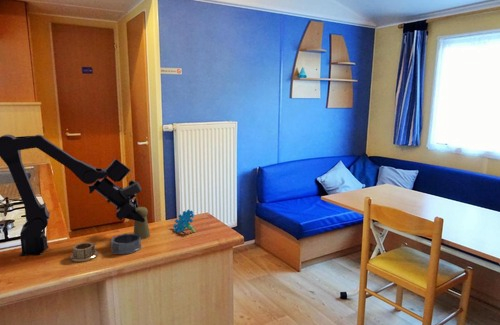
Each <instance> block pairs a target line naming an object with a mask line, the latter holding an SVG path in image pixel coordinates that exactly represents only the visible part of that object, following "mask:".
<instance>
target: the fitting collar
mask: <svg viewBox="0 0 500 325" xmlns="http://www.w3.org/2000/svg"><path fill="white" fill-rule="evenodd" d="M110 248H111V249H110V251H111V253H112V254H114V255H118V256H119V255H120V256H121V255H124V256H125V255H130V254H134V253H137V252H138V251H140V250H141V249H142V239H141V237H140V236H139V235H138V234H134V232H133V233H132V232H131V233H123V234H118V235H116V236H113V237H112V238H111V239H110ZM136 251H137V252H136Z"/></svg>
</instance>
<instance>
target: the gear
mask: <svg viewBox="0 0 500 325" xmlns="http://www.w3.org/2000/svg"><path fill="white" fill-rule="evenodd" d="M194 217H195V214H194V211H193V210H190V209H187V210H186V211H185V210H184V211H182V214H179V215H178V219H175V221H174V224H173V225H172V226H173V228H174V229H173V230H174V232H175V233H181V232H185V231H186V229H187V230H188V231H192V232H193V233H196V230H195V229H194V226H193V225H191V223H193V221H194V219H193V218H194Z"/></svg>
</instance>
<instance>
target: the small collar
mask: <svg viewBox="0 0 500 325" xmlns="http://www.w3.org/2000/svg"><path fill="white" fill-rule="evenodd" d="M98 255H99V252H98V251H97V250H96V248H95V243H93V242H88V241H87V242H80V243H78V244H75V245H73V246H72V254H71V256H70V261H71V262H74V263H84V262H90V261H92V260H95V259H96V258H97V257H98Z"/></svg>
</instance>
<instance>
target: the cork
mask: <svg viewBox="0 0 500 325" xmlns="http://www.w3.org/2000/svg"><path fill="white" fill-rule="evenodd" d="M136 210H137V211H138V212H139V213H140V214H141V215H142V217H143V218H144V219H145V221H144V222H140V221H136V220H134V225H133V234H138V235H139V236H140V237H141V240H145V239H148V238H150V237H151V232H150V228H149V223H148V222H149V221H148V217H147V216H148V212H149V210H148V208H146V207H145V206H139V207H137V208H136Z"/></svg>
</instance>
